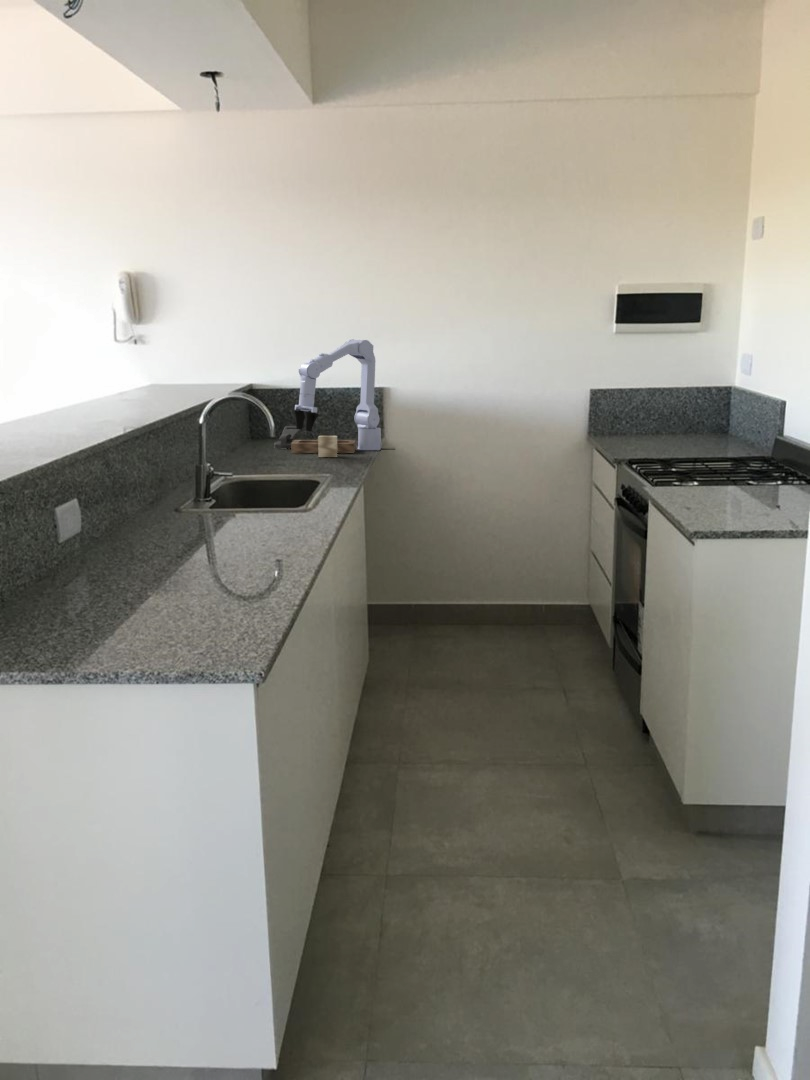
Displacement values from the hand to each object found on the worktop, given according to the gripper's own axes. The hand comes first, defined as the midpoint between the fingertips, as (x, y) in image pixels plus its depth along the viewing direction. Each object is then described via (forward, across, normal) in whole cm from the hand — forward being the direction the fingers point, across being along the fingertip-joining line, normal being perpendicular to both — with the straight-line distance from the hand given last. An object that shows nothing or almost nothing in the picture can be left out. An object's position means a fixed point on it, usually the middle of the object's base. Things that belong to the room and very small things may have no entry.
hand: (303, 430), depth 351 cm
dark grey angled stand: (+9, -33, +12) cm, 36 cm away
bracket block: (+9, +5, +9) cm, 14 cm away
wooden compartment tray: (+8, -8, +14) cm, 18 cm away
